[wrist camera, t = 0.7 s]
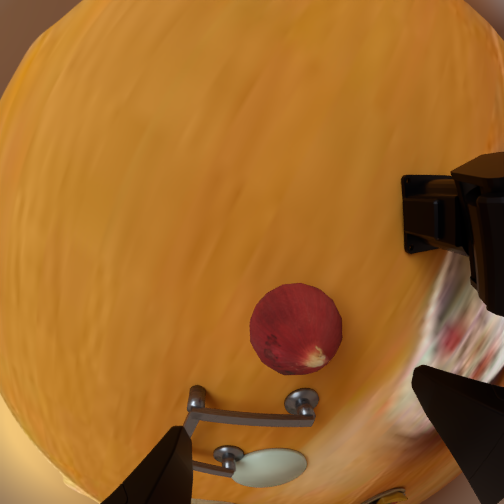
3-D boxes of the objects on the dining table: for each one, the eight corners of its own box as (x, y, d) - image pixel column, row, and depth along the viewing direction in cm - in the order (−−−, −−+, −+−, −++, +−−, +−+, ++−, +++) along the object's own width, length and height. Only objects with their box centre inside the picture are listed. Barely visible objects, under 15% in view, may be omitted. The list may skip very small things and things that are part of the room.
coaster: (306, 441, 24) (307, 445, 23) (305, 476, 25) (305, 480, 25) (223, 453, 23) (223, 457, 22) (236, 487, 25) (236, 490, 24)
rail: (317, 367, 22) (329, 388, 18) (315, 446, 24) (322, 466, 21) (145, 387, 21) (137, 410, 17) (181, 462, 23) (179, 482, 20)
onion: (286, 352, 21) (314, 419, 13) (229, 315, 20) (233, 380, 12) (334, 298, 20) (386, 347, 13) (279, 254, 19) (314, 290, 12)
